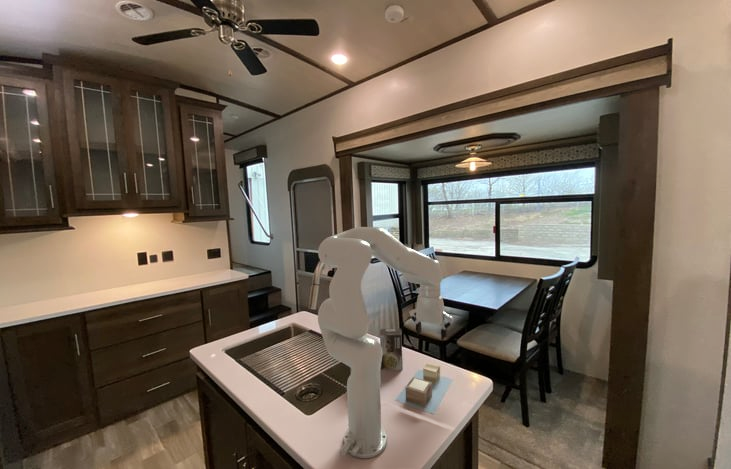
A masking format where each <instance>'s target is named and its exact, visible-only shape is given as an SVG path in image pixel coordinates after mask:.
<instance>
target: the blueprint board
mask: <svg viewBox="0 0 731 469" xmlns="http://www.w3.org/2000/svg"><path fill="white" fill-rule="evenodd" d="M452 382H453V378H450V377H447V376H443V375H440V379H439V381H438V382H437V384H432V382H429V381H425V380H423V369H418V370H417V371H416V372H415V373H414V374H413V376H412V377H411V378H410V380H409V381H408V383H407V384H405V386H404V387H403V389H402V390H401V391H400V392H399V394H398V395H397V396H396V397H395V399H394V401H396V402H398V403H401V404H404V405H407V406H410V407H413V408H414V409H417V410H420V411H423V412H426V413H428V414H430V415H434V414H435V413H436V411H437V410H438V407H439V406H440V404H441V402H442V400H443V399H444V397H445V394H446V393H447V392H448V389H449V387H450V386H451V384H452Z"/></svg>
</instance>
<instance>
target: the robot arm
mask: <svg viewBox="0 0 731 469" xmlns="http://www.w3.org/2000/svg"><path fill="white" fill-rule="evenodd" d="M317 250H318V252H317V254H318V258H319V260H320V262H321V263H322V264H323V265H325V266H327V267H331V268H337V269H336V270H335V273H334V274H333V276H332V278H331V280H330V282H329V288H328V292H329V293H328V294H329V298H326V299H325V300H324V301H323V302H322V303H321V305H320V306H319V309H318V313H317V324H318V327H319V329H320V333H321V336H322V338H323V342H324V345H325V348H326V350H327V352H328V354H329V356H330V357H332V358H333V359H335V360H336V361H338V362H340V363H342V364H344V365H346V366H347V367H349V368H350V370H351V369H352V373H351V372H350V375H349V377H348V378H347V382H346V394H347V396H346V397H347V398H346V399H347V415H348V416H347V419H348V428H347V429H346V431H345V432H344V436H343V445H342V446H341V448H340V449H339V454H340V455H341V456H342V457H346V455H347V454H350V455H351V456H352V457H355V458H357V459H358V458H359V459H370V458H374V457H376V456H378V455H380V454H381V453H382V452H383V451H384V450H385V449H386V447H387V444H388V443H387V442H388V435H387V432H386V431H385V429H384V428H383V426H382V412H381V411H382V410H381V409H382V408H381V407H382V406H381V386H380V374H381V362H382V354H383V352H382V347H381V345H380V341H378V340H377V339H375V338H374V337H372V336H370V335H368V332H369V329H370V320H369V314H368V311H367V308H366V304H365V301H364V297H363V292H362V280H363V278H364V275H365V273H366V271H367V269H368V268H369V266H370V264H371V261H372V258H373V257H374V258H375V259H377V260H378V261H380V262H381V263H383V264H384V265H386V266H387V267H388V268H390V269H392V270H394V271H398V272H401V276H402V277H403V279H404V280H405V281H406V282H408V283H411V284H412V283H413V284H417V285H419V287H417V288H416V291H417V292H419V294H418V295H417V299H416V308H414V309H411V310H410V311H409V315H410V317H411V320H412V321H413V323H414V324H415V332H416V335H417V336H418V335H420V334H421V333H422V323H426V324H431V325H438V326H440V328H441V329H440V339H441V341H444V340H445V338H447V335H448V334H447V332H448V330H447V329H448V328H449V327H450V326H451V325H452V324H453V322H454V320H455V319H454V317H453V316H451V315H450V314H448V313H446V311H445V305H444V304H445V303H444V299H443V295H441V283H442V281H443V277H444V273H443V270H442V267H441V264H440V262H439V261H438V260H437V259H433V258H432V257H430V256H428V255H426V254H424V253H421V252H418V251H417V250H415V249H412V248H410V247H407V246H406V245H405V244H403V243H402V242H401V241H400V240H399V239H397V238H396V237H395V236H393V234H391V233H390V232H389V231H388V230H386V229H385V228H382V227H377V226H375V227H374V226H373V227H372V226H371V227H370V226H357V227H354V228H350V229H348V230H344V231H342V232H339V233H335V234H333V235H330V236H328V237H326V238H325V239H324V240H322V242H321V243H320V244H319V246H318V249H317ZM445 319H446V320H447V322H446V320H445Z"/></svg>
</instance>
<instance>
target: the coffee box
mask: <svg viewBox="0 0 731 469" xmlns="http://www.w3.org/2000/svg"><path fill="white" fill-rule="evenodd" d="M402 337H403V336H402V328H380V331H379V344H380V345H381V347H382V352H383V354H382V362H381V368H380V372H381V371H403V370H404V367H403V366H404V364H403V363H404V362H403V344H402V341H403V340H402V339H403V338H402Z"/></svg>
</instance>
